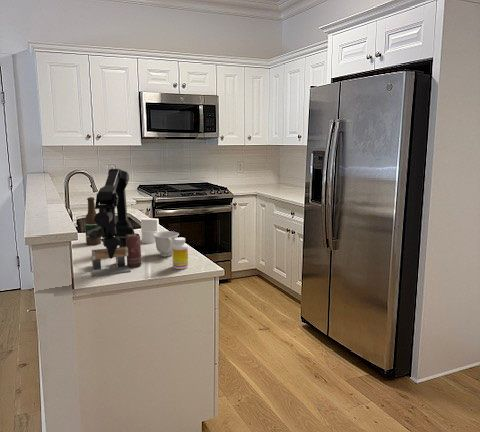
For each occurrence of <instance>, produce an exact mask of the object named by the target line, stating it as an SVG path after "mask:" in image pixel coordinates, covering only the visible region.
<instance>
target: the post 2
mask: <svg viewBox="0 0 480 432" xmlns="http://www.w3.org/2000/svg"><path fill="white" fill-rule="evenodd" d="M125 257H126V256H122V257H115V264H116V267H124V266H126V259H125Z"/></svg>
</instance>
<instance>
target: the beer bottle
mask: <svg viewBox="0 0 480 432" xmlns="http://www.w3.org/2000/svg"><path fill="white" fill-rule="evenodd" d="M86 200H87V213H86V216H85V219H84V230H85V242H86V243H85V244H86V245H87V246H91V245H92V246H98V245H101V244H102V241H101V239H102V237H99V238H96V239H94V240H93V241H91V240H90V238H89V236H88V234H87V232H88V231H90V230H92V229H94V228H97V227H100V226H98V225H97V224H96V223H95V220H94V218H95V215H96V214H97V211H96V209H95V204H96V203H95V201H96V198H95V197H93V196H91V197H90V196H89V197H87V199H86Z"/></svg>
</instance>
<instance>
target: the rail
mask: <svg viewBox="0 0 480 432" xmlns="http://www.w3.org/2000/svg"><path fill="white" fill-rule="evenodd" d="M122 256H125V257H127V256H128V248H127V246H126V247H119V246H117V248H116V251H115V253H114V256H113V258H116V257H122ZM92 259H93V260H95V259H101V260H104V259H110V258H109V254H108V250H107V249H106V248H100V249H99V248H98V249H91V260H92Z"/></svg>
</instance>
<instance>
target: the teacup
mask: <svg viewBox="0 0 480 432" xmlns="http://www.w3.org/2000/svg"><path fill="white" fill-rule="evenodd" d="M179 235H180V233H179V232H176V231H173V230H172V231H171V230H169V231H167V230H164V231H159V232H157V233H155V234H153V236H154V237H155V242H156V243H155V246H156V247H155V248H156V250H157V252H159V253H160V256H161V257H170V256H172V246H173V245H174V244H175V242H174V239H175V238H178V236H179Z"/></svg>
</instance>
